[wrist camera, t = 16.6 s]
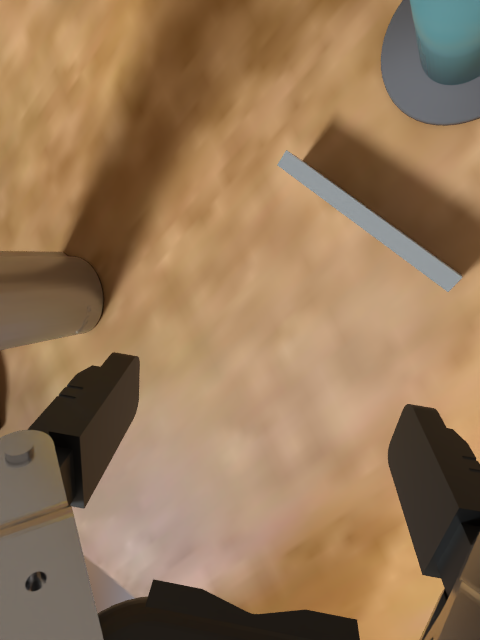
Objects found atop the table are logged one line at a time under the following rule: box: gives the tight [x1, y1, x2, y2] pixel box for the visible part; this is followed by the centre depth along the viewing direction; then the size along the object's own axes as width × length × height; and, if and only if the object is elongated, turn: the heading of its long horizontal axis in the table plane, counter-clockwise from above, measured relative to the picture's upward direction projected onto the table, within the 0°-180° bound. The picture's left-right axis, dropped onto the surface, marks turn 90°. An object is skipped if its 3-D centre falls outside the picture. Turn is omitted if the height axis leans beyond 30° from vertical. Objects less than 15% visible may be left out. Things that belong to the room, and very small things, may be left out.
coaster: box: [381, 0, 480, 125], centre depth 25 cm, size 10×10×1 cm
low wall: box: [278, 150, 462, 292], centre depth 28 cm, size 15×1×4 cm, turn 54°
